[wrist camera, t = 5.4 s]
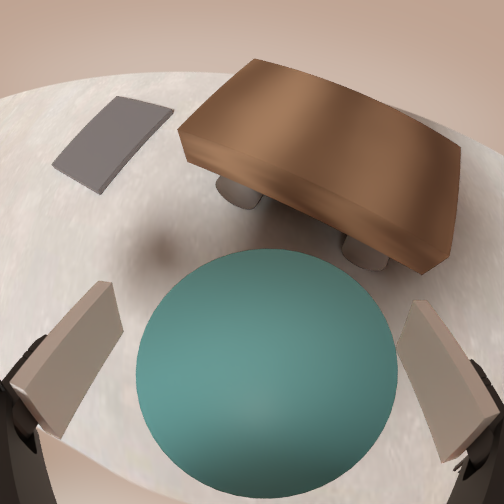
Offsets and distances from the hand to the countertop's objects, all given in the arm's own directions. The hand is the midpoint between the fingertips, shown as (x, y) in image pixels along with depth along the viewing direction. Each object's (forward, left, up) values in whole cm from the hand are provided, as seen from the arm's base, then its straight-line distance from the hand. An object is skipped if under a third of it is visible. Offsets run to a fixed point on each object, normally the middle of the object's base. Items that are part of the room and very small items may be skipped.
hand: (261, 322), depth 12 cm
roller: (-1, +2, -5) cm, 6 cm away
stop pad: (+20, -8, -5) cm, 22 cm away
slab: (+1, -11, -5) cm, 13 cm away
